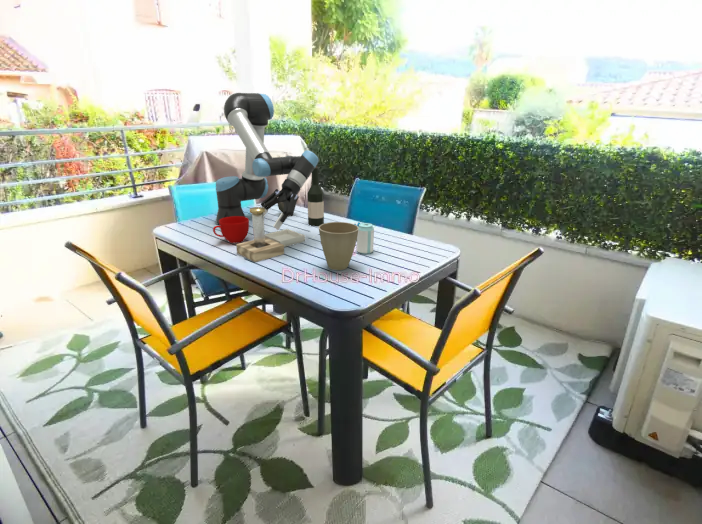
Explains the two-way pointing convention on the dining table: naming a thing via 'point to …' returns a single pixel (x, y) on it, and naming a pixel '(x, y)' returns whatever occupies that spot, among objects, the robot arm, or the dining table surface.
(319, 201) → the wine bottle
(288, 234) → the tray
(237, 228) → the ceramic cup
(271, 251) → the socket block
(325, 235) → the plant pot
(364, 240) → the can
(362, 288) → the dining table surface
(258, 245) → the pin
